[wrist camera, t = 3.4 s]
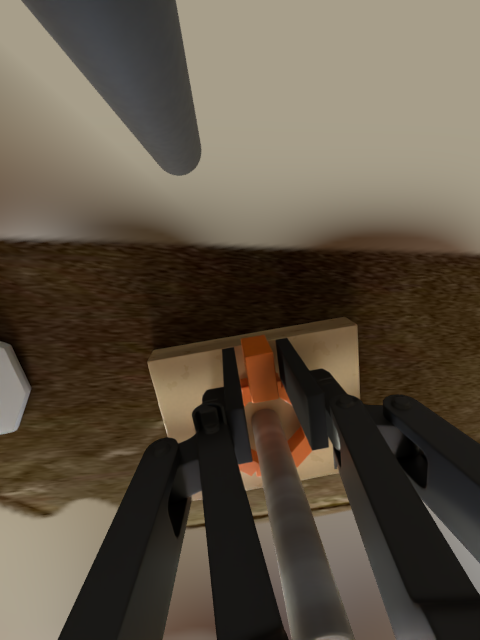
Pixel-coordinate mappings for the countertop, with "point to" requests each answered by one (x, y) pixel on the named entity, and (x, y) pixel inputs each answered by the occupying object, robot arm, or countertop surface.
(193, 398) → the board
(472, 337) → the countertop surface
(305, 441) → the ring
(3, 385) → the wineglass
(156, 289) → the countertop surface
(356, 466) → the robot arm
